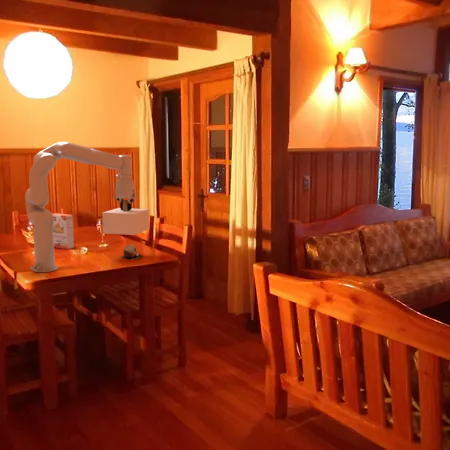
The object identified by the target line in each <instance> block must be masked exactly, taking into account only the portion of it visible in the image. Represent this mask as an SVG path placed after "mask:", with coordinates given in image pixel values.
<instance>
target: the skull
mask: <svg viewBox="0 0 450 450" xmlns="http://www.w3.org/2000/svg"><path fill="white" fill-rule="evenodd" d="M138 251H139V249H137V246H136V245H135V244H132V243H130V244H128V245H126V246H125V247H124V249H123V255H122V256H121V257H120V258H121V259H127V260H138V259H141V258H143V255H142V253H141V254H140V253H139V252H138Z"/></svg>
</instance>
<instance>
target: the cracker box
mask: <svg viewBox="0 0 450 450" xmlns="http://www.w3.org/2000/svg"><path fill="white" fill-rule="evenodd" d="M52 215H53V218H54V225H53V239H54V249H56V248H57V249H62V250H71V249H74V248H75V235H74V233H75V232H74V218H73V217H74V216H73V214H68V213H67V214H66V213H65V214H64V213H59V212H58V213H52Z"/></svg>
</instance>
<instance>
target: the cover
mask: <svg viewBox="0 0 450 450" xmlns="http://www.w3.org/2000/svg"><path fill="white" fill-rule="evenodd" d="M101 215H102V234H108V235H109V234H110V235H125V236H127V235H128V236H129V235H131V236H136V235H139V234H141V233H144V232H145V231H148V230H150V209H149V208H133V207H132V209H131V210H129V211H128V199H123V210H121V208H120V207H117V208H114V209H110V210H106V211H103V212H102V214H101Z"/></svg>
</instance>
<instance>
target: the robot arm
mask: <svg viewBox="0 0 450 450" xmlns="http://www.w3.org/2000/svg"><path fill="white" fill-rule="evenodd" d="M61 159H66V160H68V161H69V160H70V161H73V162H78V163H82V164H87V165H94V166H101V167H105V168H106V169H109V170H110V169H111V170H117V174H116V175H115V178H117V180H116V182H115V194H114V196H113V197H114V199H115V200H117V202H118V203H119V208H121V210H123V200H125V199H127V200H128V211H129V210H131V209H132V208H133V207H132V203H134V202H135V200H137V199H138V196H137V194H136V188H135V182H134V180H133V176H132V175H133V172H132V156H131V155H130V154H120V155H117V154H115V153H110V152H108V151H107V152H106V151H101V150H98V149H95V148H91V147H88V146H83V145H80V144H75V143H72V142H68V141H58V142H56V143H53V144H52V145H50V146H48V147H47V148H45V149H43V150H41V151H39V152H38V153H36V154H35V155H34V157H33V161H32V162H33V163H32V166H31V167H30V170H29V175H28V176H29V177H28V180H29V188H27V189H26V190H25V195H24V201H25V208H26V216H27V219H28V222H30V224H32V225H33V246H34V247H33V249H34V258H35V259H34V265H31V266H30V270H31V271H33V272H35V273H50V272H54V271H57V270H59V265H56V263H55V261H56V260H55V247H54V239H53V225H54V218H53V215H52V214H53V213H52V212H51V211H50V210H48V209H46V205H48V203H49V202H50V193H49V186H48V185H49V184H48V175H49V172H50V171H51V170H52V169H54V168H55V166H56V165H57V162H58V161H59V160H61Z"/></svg>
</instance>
